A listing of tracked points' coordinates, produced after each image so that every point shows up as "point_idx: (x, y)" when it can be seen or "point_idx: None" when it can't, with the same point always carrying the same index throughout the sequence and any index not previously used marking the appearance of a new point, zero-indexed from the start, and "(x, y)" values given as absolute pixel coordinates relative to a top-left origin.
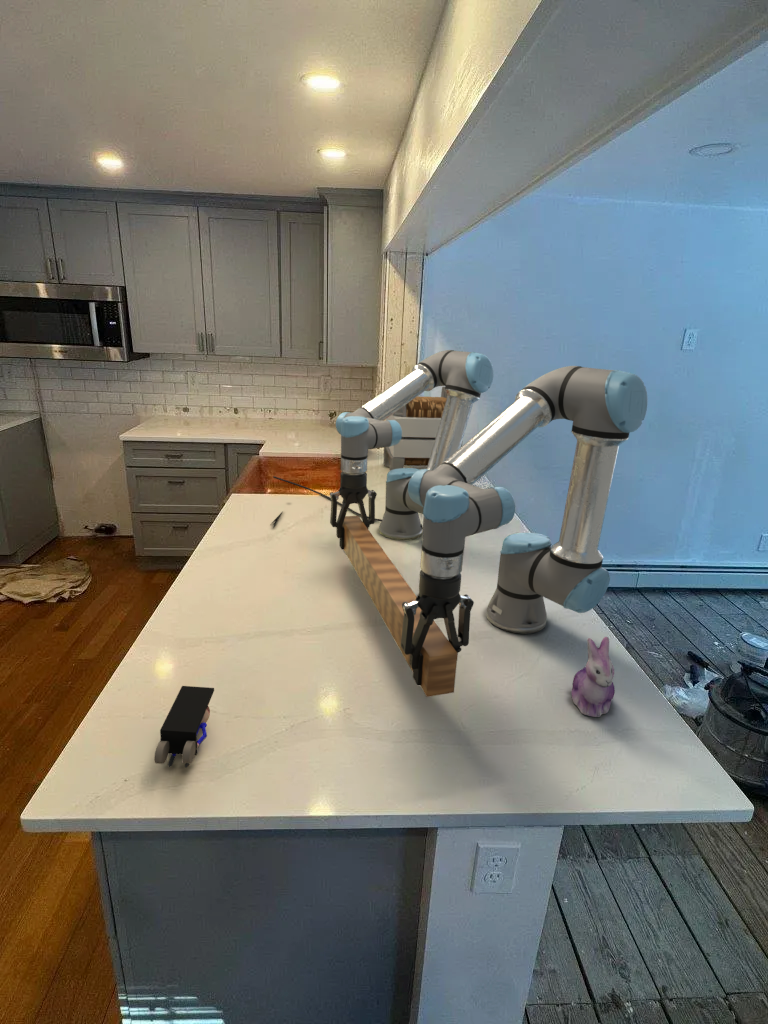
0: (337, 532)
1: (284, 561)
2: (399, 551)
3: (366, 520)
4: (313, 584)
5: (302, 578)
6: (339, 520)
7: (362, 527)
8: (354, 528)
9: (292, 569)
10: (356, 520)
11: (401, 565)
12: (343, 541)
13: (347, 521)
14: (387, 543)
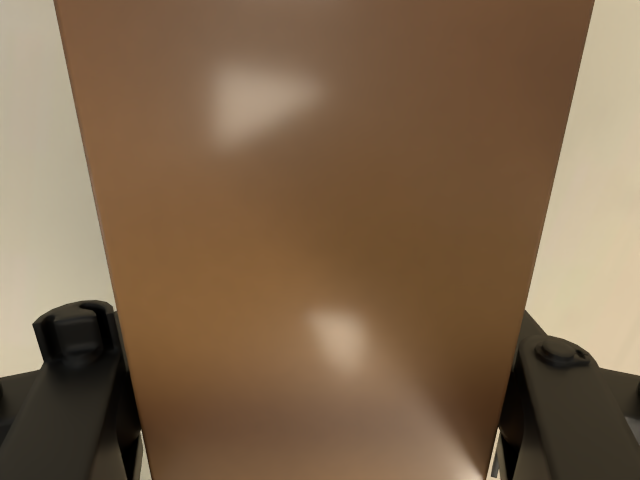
0: (532, 318)
1: (633, 350)
2: (11, 349)
3: (46, 416)
4: (611, 35)
5: (636, 135)
6: (633, 463)
7: (184, 84)
8: (412, 51)
9: (636, 258)
10: (246, 465)
11: (10, 182)
12: None
13: (420, 454)
14: None
